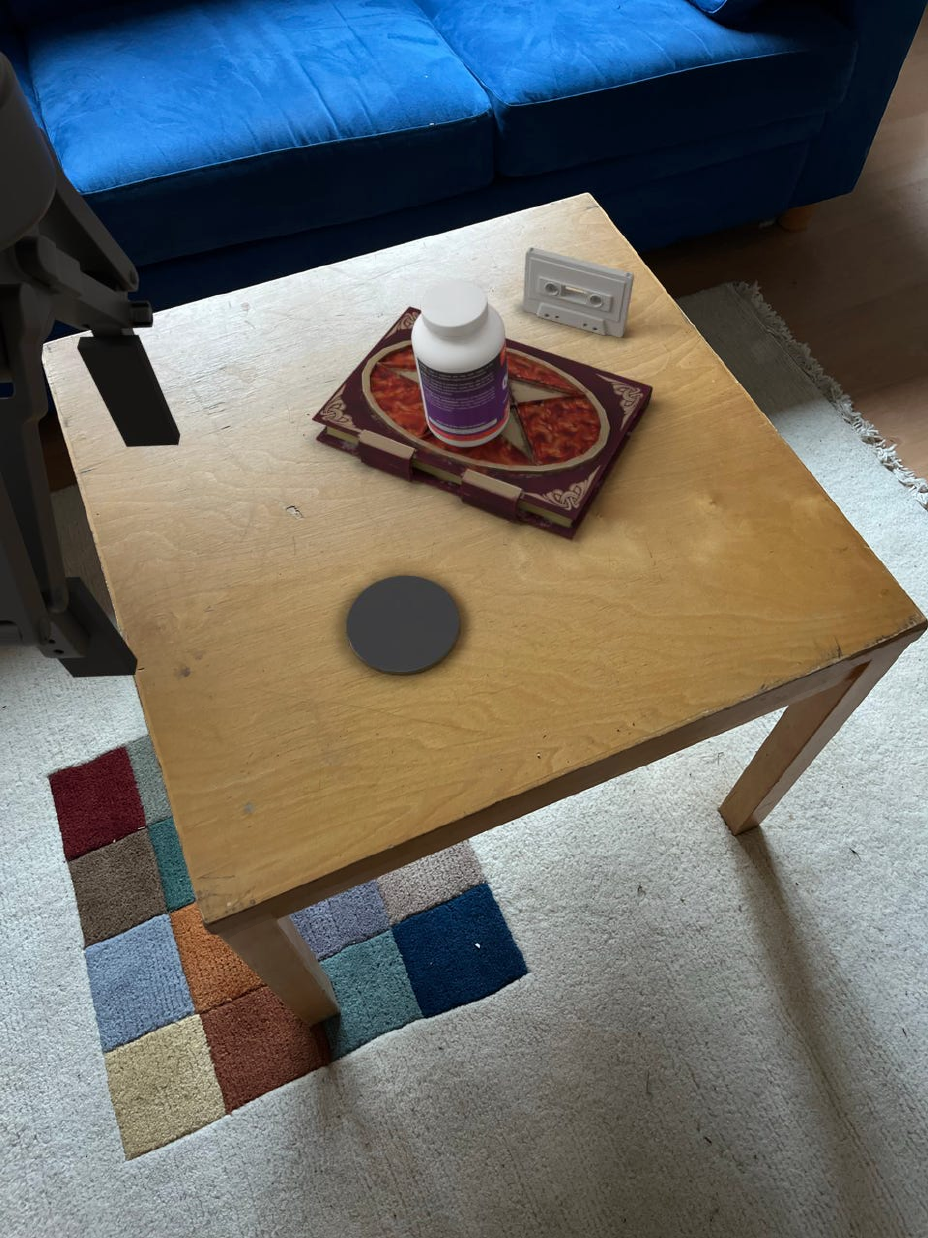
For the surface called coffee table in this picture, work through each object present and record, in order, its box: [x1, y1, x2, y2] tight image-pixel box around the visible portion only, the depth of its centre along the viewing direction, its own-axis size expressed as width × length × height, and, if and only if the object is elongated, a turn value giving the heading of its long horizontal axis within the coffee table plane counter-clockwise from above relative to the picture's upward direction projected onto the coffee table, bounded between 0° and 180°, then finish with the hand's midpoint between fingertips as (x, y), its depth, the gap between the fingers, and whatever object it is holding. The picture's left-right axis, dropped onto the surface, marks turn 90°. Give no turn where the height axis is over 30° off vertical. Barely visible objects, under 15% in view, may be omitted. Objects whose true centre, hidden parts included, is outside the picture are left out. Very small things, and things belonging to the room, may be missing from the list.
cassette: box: [522, 246, 635, 338], centre depth 94 cm, size 12×2×8 cm, turn 66°
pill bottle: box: [411, 277, 510, 447], centre depth 76 cm, size 8×8×14 cm
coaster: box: [345, 574, 461, 676], centre depth 76 cm, size 10×10×1 cm
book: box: [311, 305, 654, 540], centre depth 87 cm, size 28×21×5 cm
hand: (132, 545), depth 41 cm, fingers open, 13 cm apart
